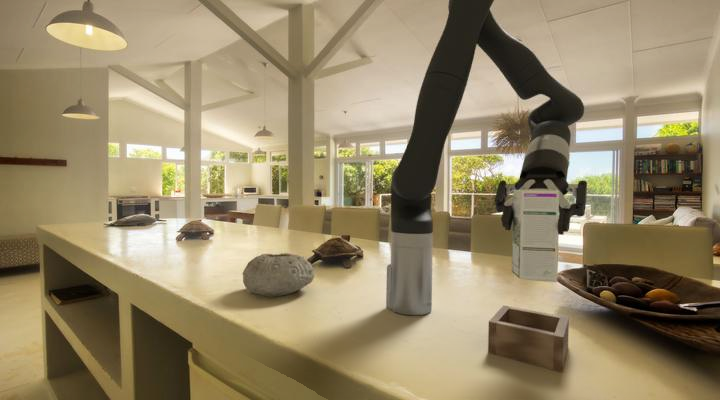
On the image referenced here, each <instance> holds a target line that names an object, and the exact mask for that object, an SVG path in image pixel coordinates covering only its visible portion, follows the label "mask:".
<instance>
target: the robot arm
mask: <svg viewBox="0 0 720 400" xmlns="http://www.w3.org/2000/svg"><path fill="white" fill-rule="evenodd" d="M494 2H495V0H449V1H448V5H447V7H448V14H447V19H446V22H445V26H444V29H443V31H442V34H441V36H440V39H439V40H438V43H437V45H436V47H435V49H434V50H433V53H432V56H431V59H430V61H429V64H428V66H427V68H426V72H425V74H424V77H423V80H422V83H421V87H420V89H419V94H418V97H417V101H416V107H415V112H414V117H413V118H414V119H413V126H412V131H411V135H410V137H409V140H408V143H407V145H406V147H405V149H404V153H403V155H402V156H401V158H400V162H399V163H398V165H397V166H396V168H395V169H394V171H393V173H392V175H391V179H390V184H391V185H390V224H391V225H390V226H391V227H390V228H391V229H390V232H391V233H390V264H387V266H386V288H385V289H386V293H385V294H386V296H385V300H386V305H385V308H387V309H390V310H391V311H392V312H395V313H398V314H400V315H408V316H422V315H427V314H430V313H431V312H432V307H433V306H432V305H433V255H434V254H433V252H434V251H433V249H434V248H433V247H434V245H433V244H434V243H433V241H434V221H433V215H432V214H433V213H432V192H433V191H434V190H435V187H436V184H437V180H438V175H439V170H440V166H441V165H440V164H441V161H442V156H443V151H444V148H445V144H446V140H447V138H448V136H449V134H450V130H451V129H452V126H453V124H454V121H455V119H456V116H457V114H458V111H459V108H460V106H461V103H462V100H463V97H464V93H465V91H466V88H467V84H468V81H469V76H470V73H471V70H472V65H473V62H474V57H475V53H476V49H477V46H478V47H479V48H480V49H481V50H482V51H483V52H484V53H485V54H486V56H488V58H489V59H490V60H491V62H493V63H494V65H495V66H496V67H497V68H498V70H499V71H500V72H501V74H502V75H503V76H504V78H505V80H506V81H507V82H508V84H509V86H511V88H512V90H513V91H514V92H515V93H516V95H517V97H519V98H520V100H522V101H526V100H527V101H528V100H530V99H531V98H534V97H536V96H539V95H542V96H545V97H547V98H549V99H548V100H546V101H545V102H543V103H542V104H540V105H538V106H537V107H535V108H534V109H533V110H532V111H531V112H530V114H529V115H528V117H527V124H528V125H527V126H528V128H529V132H530V133H529V134H530V140H529V144H528V147H527V149H526V151H525V155H524V157H523V158H524V159H523V163H522V165H521V166H522V167H521V170H520V174H519V179H518V180H517V181H516V182H515V183H507V181H506V180H500V181H499V182H498V186H497V190H496V192H495V193H496V194H495V197H494V201H493V202H494V204H495V210H496V212H498V213H502V215H501V218H500V219H501V225H502V228H504V230H505V231H511V228H512V226H513V204H514V193H513V194H512V192H514V190H527V189H553V190H559V220H558V236H559V235H561V236H564V233H566V232H569V230H570V225H571V223H570V222H571V217H573V216H577V217H580V218H581V217H584V216H585V214H586V207H587V206H586V205H587V196H588V182H587V181H586V180H579V181H578V183H577V184H576V183H573V184H572V183H569V182H568V181H567V179H568V173H569V172H568V171H569V167H570V156H571V155H570V146H571V145H570V144H571V137H572V135H571V134H572V133H571V130H570V126H571V125H573V124H575V123H577V122H579V121H580V120H581V119H582V118H583V117H584V114H585V106H584V103H583V101H582V99H581V98H580V97H579V96H578V95H577V94H576V93H574V91H571V90H570V89H569V88H567V87H566V86H564V85H563V84H562V83H560V82H559V81H558V80H557V79H556V78H554V76H553V75H552V74H550V73H549V72H548V70H547V69H546V68H545V66H544V65H543V63H542V62H541V60H540V59H539V58H538V57H537V55H536V54H535V53H534V52H533V50H531V49H530V48H529V47H528V46H527V45H525V43H523V42H521V41H520V40H518V39H517V38H515V37H513V36H512V35H510V34H509V33H508V32H506V31H505V30H504V29H503V28H502V27H501V26H500V24H499V23H498V22H497V20H496V18H495V17H494V15H493V13H492V10H491V7H492V5H493V4H494ZM569 192H570V193H571V194H572V196H573V197H574V198H575V203H570V202H569V201H568V200H567V199H566V198H565V195H567V194H568V193H569ZM511 194H512V196H511V197H510V195H511ZM507 197H510V198H509V199H507Z"/></svg>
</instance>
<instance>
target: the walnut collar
mask: <svg viewBox="0 0 720 400" xmlns="http://www.w3.org/2000/svg"><path fill="white" fill-rule="evenodd" d="M569 319H570V317H569V316H563V315H557V314H552V313H547V312H541V311H536V310H531V309H527V308H526V309H524V308H519V307H514V306H508V305H502V306H501V308H499V310H498V311H497V312H496V313H495V314H494V315H493V316H492V317H491V318H490V319H489V320H488V336H487V337H488V340H487V348H488V349H487V352H488V353H489V354H493V355H497V356H502V357H504V358H508V359H513V360H516V361H520V362H524V363H527V364H531V365H534V366H539V367H542V368H545V369H550V370H554V371H556V372H561V373H562V372H564V368H565V363H566V358H567V353H568V351H569V350H568V349H569V327H570V322H569V321H570V320H569Z"/></svg>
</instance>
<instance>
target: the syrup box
mask: <svg viewBox="0 0 720 400" xmlns="http://www.w3.org/2000/svg"><path fill="white" fill-rule="evenodd" d="M513 194H514V204H513V221H512V240H511V241H512V242H511V243H512V244H511V245H512V246H511V247H512V248H511V250H512V251H511V273H513V274H514V275H515V276H516V277H517V278H518V279H520V280H524V281H532V282H534V281H535V282H545V283H546V282H548V283H558V266H559V265H558V264H559V234H558V220H559V190H553V189H527V190H514V191H513Z"/></svg>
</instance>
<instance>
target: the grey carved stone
mask: <svg viewBox="0 0 720 400" xmlns="http://www.w3.org/2000/svg"><path fill="white" fill-rule="evenodd" d="M314 278H315V270H314V268H313V266H312V263H311V262H309V261H308V259H306V258H305V256H301V255H298V254H293V253H288V252H287V253H286V252H285V253H278V254H277V253H274V254H273V253H261V254H260V255H257V256H255V257H254V258H252V259H251V260H249V262H247V264H246V266H245V268H244V269H243V272H242V283H243V284H244V287H245V288H246V289H247V291H249V292H250V293H252V294H255V295H260V296H264V297H268V296H269V297H281V296H285V295H288V294H290V293H295V292H297V291H298V290H301V289H304V288H305V287H306V286H307V287H308V285H309V284H312V282H313V280H314Z"/></svg>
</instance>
